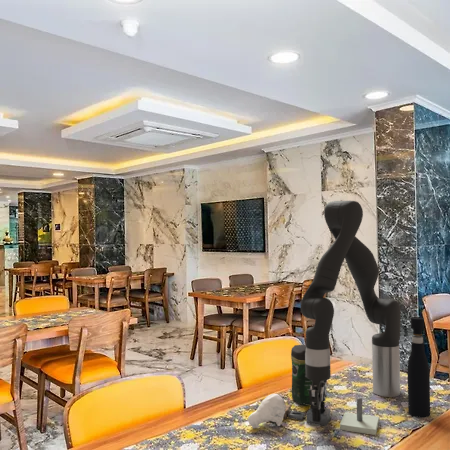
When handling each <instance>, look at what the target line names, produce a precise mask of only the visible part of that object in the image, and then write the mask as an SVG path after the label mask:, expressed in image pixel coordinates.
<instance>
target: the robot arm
mask: <svg viewBox="0 0 450 450" xmlns="http://www.w3.org/2000/svg"><path fill="white" fill-rule="evenodd" d="M363 210H364V209H363V207H362V205H361V204H360V203H359V202H358V201H356V200H333V201H330V202H328V203H326V205H325V207H324V211H323V212H324V213H323V215H324V220H325V223H326V225H327V227H328V229H329V230H330V232H331V234H332V236H333V238H334V239H335V241H334V242H333V243H332V244H331V246H329V248H328V249H327V250H326V251H325V252H324V253H323V254H322V256H321V258H320V260H319V261H318V264H317V267H316V269H315V273H314V277H313V280H312V282H311V283H310V284H309V286H308V288H307V289H306V291H305V293H304V295H303V296H302V299H301V301H300V307H299V310H300V312H301V314H302V316H303V317H305V318H306V319H309V320H310V319H311V320H314V325H313V326H310V327H308V328H306V330H305V345H306V352H305V369H306V377H307V378H308V379H310V380H312V384H311V387H310V389H309V399H310V405H309V409H312V420H313V421H314V422H320V408H326V405H325V402H326V398H327V397H328V395H327V388H328V387H327V385H328V384H327V383H328V382H327V381H329V380H330V379H331V373H332V371H331V352H330V331H331V329H332V324H333V320H334V316H335V308H334V305H333V302H332V301H331V300H330V299H329V298H327V297H324V296H325V295H326V294H327V293H331V292H333V291H335V289H336V286H337V282H338V279H339V275H340V272H341V269H342V266H343V263H344V260H345V262H346V265H347V267H348V270H349V272H350V275H351V276H352V279H353V281H354V283H355V285H356V287H357V291H358V293H359V295H360V299H361V303H362V305H363V308H364V312H365V315H366V317H367V319H368V320H369V322H370V323H371V324H374V325H381V326H385V327H384V331H383V332H379V333H375V334H373V335H372V336H371V351H372V352H371V355H372V357H371V358H372V360H371V362H372V393H374V394H375V395H377V396H380V397H385V398H386V397H387V398H390V397H391V398H394V397H395V398H396V397H399V396H400V395H401V367H400V365H401V363H400V362H401V360H400V359H401V358H400V338H401V326H402V325H401V320H402V310H401V305H400V303H399V302H398V301H397V300H395V299H388V298H379V297H378V296H377V294H376V291H375V285H376V283H377V281H378V278H379V274H380V269H379V266H378V263H377V260H376V258H375V256H374V253H373V252H372V251H371V249H370V248H369V247H368V246H366V245H365V244H364V242H362V241H361V240H360V239H359V238H358V237H356V236H357V233H358V231H359V229H360V226H361V223H362V221H363V217H364V211H363ZM314 402H316V403H315V404H314Z"/></svg>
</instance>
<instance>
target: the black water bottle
mask: <svg viewBox="0 0 450 450" xmlns="http://www.w3.org/2000/svg"><path fill="white" fill-rule="evenodd" d="M410 328H411V329H412V331H413V332H412V337H411V343H410V346H411V351H410V354H409V357H408V361H407V368H406V370H407V411H408V414H409V415H410V416H412V417H416V418H422V419H423V418H429V417H430V416H431V388H430V387H431V386H430V385H431V384H430V382H431V381H430V380H431V379H430V366H429V361H428V359H427V355H426V353H425V343H424V337H423V330H425V318H424V317H419V316H412V317H410Z"/></svg>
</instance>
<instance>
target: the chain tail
mask: <svg viewBox="0 0 450 450" xmlns="http://www.w3.org/2000/svg"><path fill="white" fill-rule="evenodd" d="M284 405H285V407H286V409H285V414H284V417H283V420H287V419H291V420H299V421H303V420H304V418H305V417H306V416H305V412H301V411H294V410H292V408H291V407H292V406H291V405H292V404H291V405H290V404H284Z"/></svg>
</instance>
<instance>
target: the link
mask: <svg viewBox="0 0 450 450" xmlns="http://www.w3.org/2000/svg"><path fill="white" fill-rule="evenodd" d="M331 418H332V417H331V408H329V407H327V408H326V407H325V408H320V422H314V421H313V420H312V409H310V408H309V409H308V410H307V412H306V424H310V425H311V424H312V425H316V426H317V425H318V426H324V427H328V425H329V423H330V420H331Z"/></svg>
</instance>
